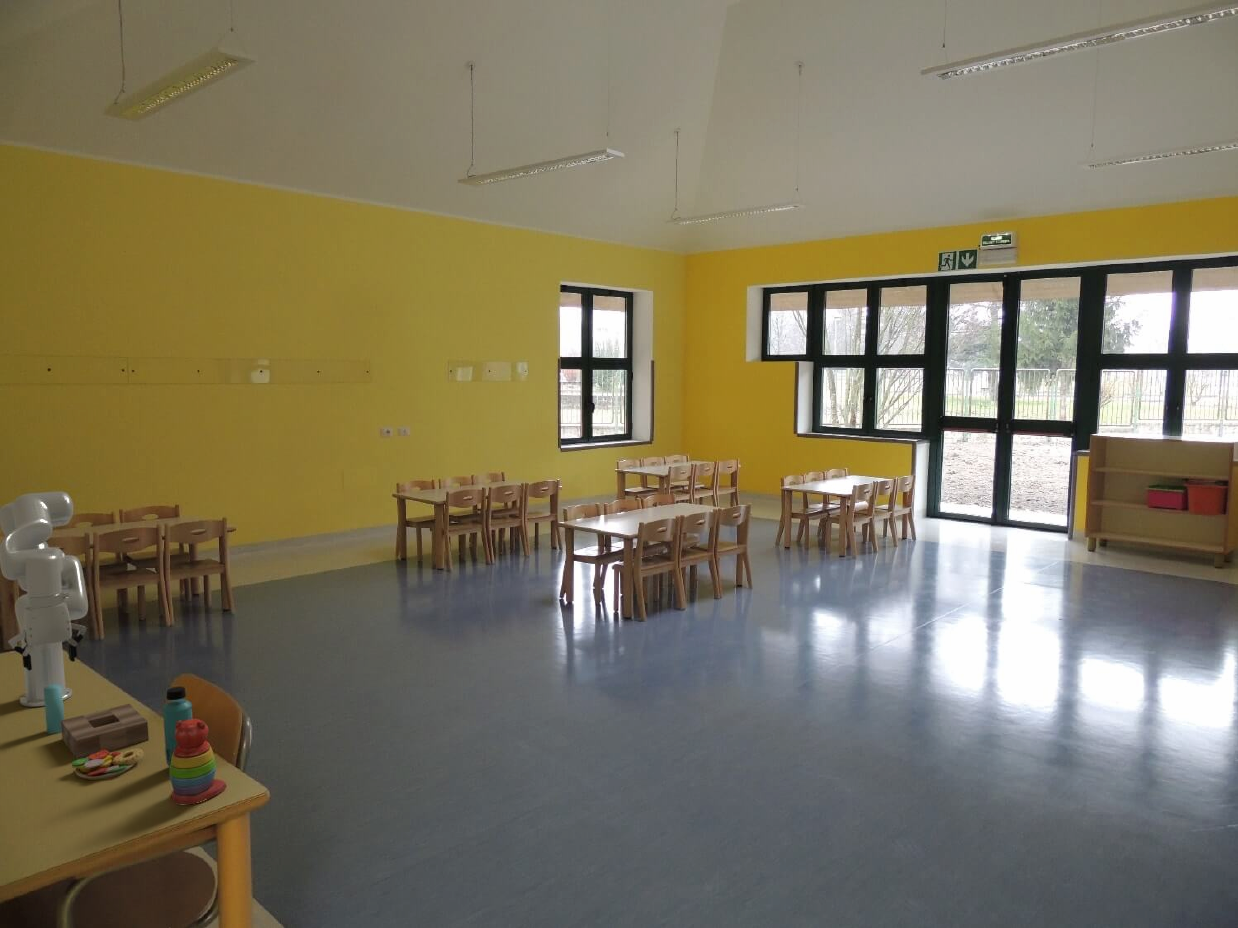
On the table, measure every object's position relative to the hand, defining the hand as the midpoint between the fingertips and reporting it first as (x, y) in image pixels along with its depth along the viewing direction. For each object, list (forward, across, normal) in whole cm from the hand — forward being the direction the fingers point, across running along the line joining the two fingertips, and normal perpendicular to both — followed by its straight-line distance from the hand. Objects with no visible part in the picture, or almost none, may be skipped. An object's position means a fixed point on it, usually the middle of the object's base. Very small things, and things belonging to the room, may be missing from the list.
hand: (50, 664), depth 228 cm
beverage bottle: (+19, -17, +44) cm, 51 cm away
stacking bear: (+20, -15, +60) cm, 65 cm away
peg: (+18, 0, -1) cm, 18 cm away
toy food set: (+19, -4, +32) cm, 38 cm away
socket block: (+18, -8, +14) cm, 25 cm away
